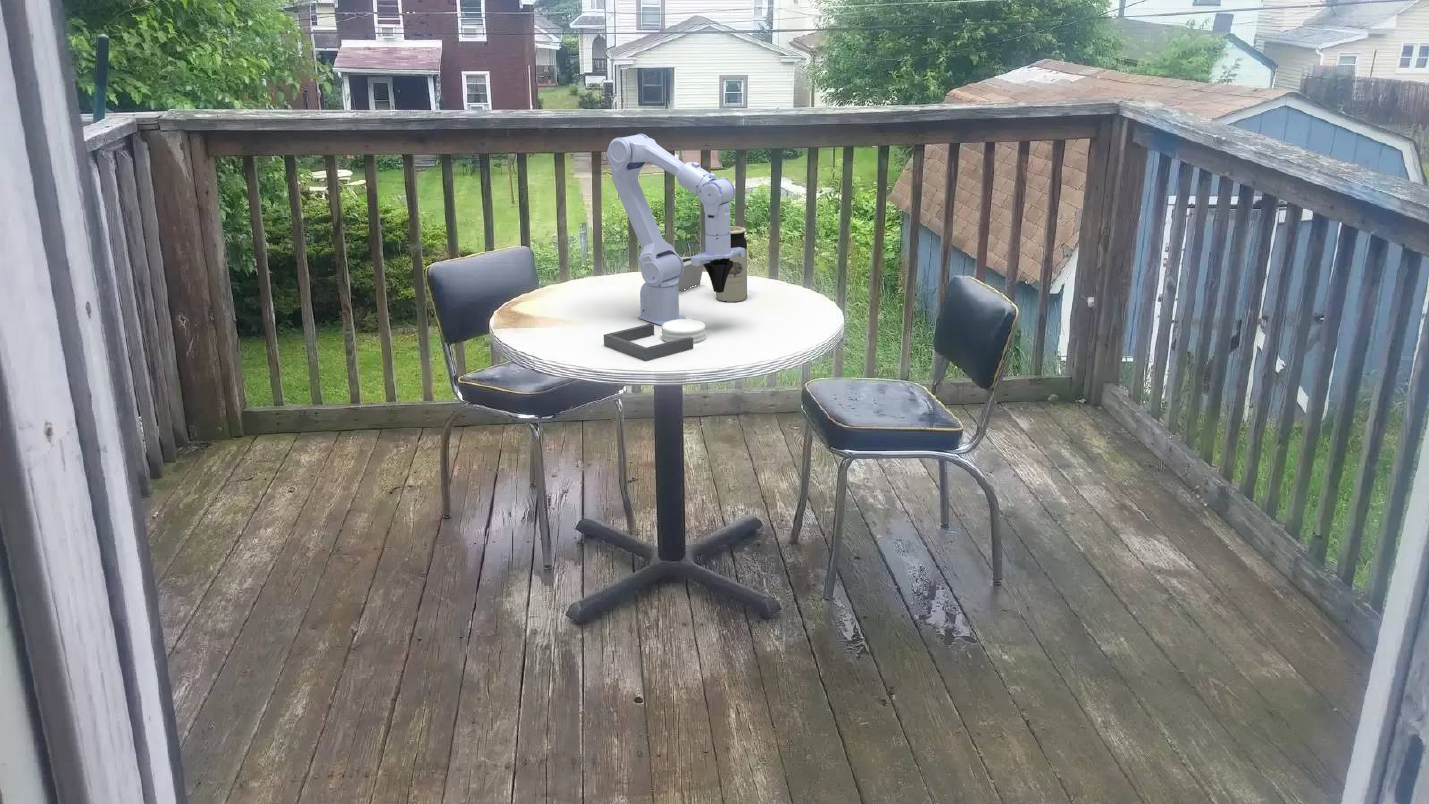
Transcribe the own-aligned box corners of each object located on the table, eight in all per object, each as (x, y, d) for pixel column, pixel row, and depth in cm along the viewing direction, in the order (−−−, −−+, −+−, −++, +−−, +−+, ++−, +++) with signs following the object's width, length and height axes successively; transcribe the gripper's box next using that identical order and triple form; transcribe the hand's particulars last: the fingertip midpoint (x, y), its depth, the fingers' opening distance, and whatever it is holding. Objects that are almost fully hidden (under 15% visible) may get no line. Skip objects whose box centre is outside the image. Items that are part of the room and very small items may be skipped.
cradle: (604, 345, 250) (603, 334, 249) (651, 333, 258) (650, 323, 257) (645, 361, 239) (645, 349, 238) (693, 348, 247) (693, 337, 246)
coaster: (682, 330, 261) (681, 315, 260) (714, 338, 255) (714, 323, 254) (652, 340, 254) (652, 325, 253) (685, 348, 248) (685, 333, 247)
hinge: (685, 282, 304) (694, 249, 299) (698, 290, 302) (708, 257, 297) (646, 295, 291) (655, 261, 286) (660, 303, 289) (669, 269, 284)
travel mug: (716, 294, 291) (715, 226, 285) (747, 294, 291) (747, 225, 284) (715, 302, 283) (714, 232, 277) (746, 302, 283) (746, 232, 277)
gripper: (704, 240, 246) (705, 300, 251) (753, 231, 255) (753, 289, 259) (684, 235, 251) (685, 294, 256) (733, 226, 260) (733, 284, 264)
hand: (718, 291), depth 258 cm, fingers closed
